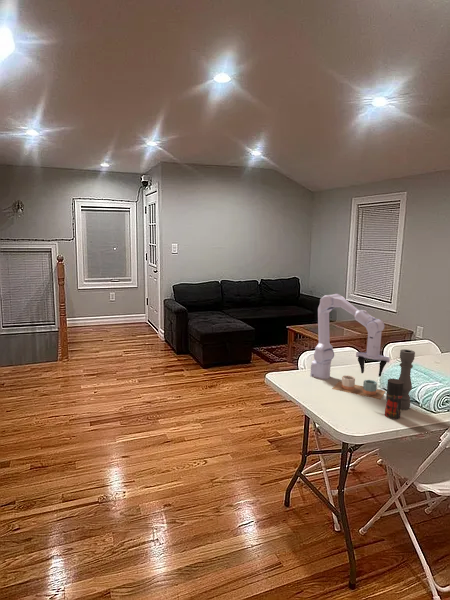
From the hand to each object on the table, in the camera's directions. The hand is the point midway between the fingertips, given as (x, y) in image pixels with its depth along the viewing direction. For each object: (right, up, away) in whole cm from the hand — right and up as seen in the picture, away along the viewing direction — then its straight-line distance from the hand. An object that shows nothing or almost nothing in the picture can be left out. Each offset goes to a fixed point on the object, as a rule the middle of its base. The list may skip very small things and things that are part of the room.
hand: (371, 374), depth 188 cm
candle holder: (+9, -12, -11) cm, 19 cm away
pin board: (-4, -9, +4) cm, 11 cm away
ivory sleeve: (-9, -8, +7) cm, 13 cm away
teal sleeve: (0, -9, +1) cm, 9 cm away
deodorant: (+2, -14, -20) cm, 24 cm away
